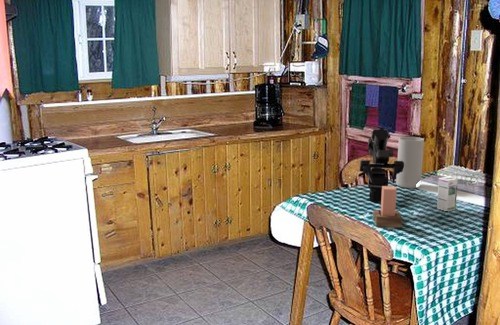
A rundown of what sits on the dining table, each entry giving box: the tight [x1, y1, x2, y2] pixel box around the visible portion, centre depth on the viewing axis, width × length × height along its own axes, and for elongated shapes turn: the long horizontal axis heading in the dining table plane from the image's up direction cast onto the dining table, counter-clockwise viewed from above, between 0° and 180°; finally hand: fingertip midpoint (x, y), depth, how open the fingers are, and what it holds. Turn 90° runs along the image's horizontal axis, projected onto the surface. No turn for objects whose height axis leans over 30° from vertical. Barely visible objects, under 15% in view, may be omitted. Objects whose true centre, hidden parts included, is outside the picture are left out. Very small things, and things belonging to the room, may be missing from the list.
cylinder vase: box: [395, 136, 425, 189], centre depth 271 cm, size 12×12×25 cm
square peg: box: [380, 185, 398, 216], centre depth 212 cm, size 5×5×14 cm
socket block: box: [372, 209, 403, 228], centre depth 214 cm, size 10×10×4 cm
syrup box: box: [436, 176, 459, 212], centre depth 230 cm, size 6×6×14 cm
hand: (382, 182), depth 225 cm, fingers open, 9 cm apart
